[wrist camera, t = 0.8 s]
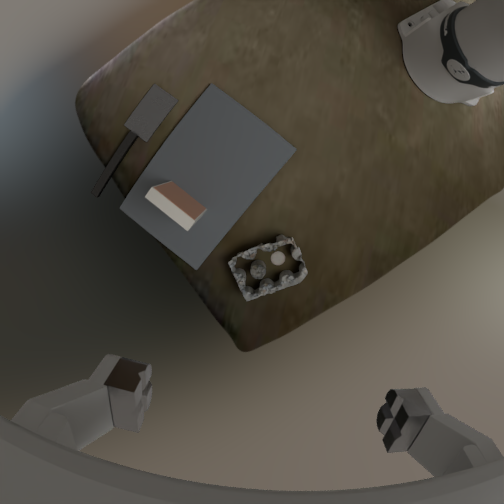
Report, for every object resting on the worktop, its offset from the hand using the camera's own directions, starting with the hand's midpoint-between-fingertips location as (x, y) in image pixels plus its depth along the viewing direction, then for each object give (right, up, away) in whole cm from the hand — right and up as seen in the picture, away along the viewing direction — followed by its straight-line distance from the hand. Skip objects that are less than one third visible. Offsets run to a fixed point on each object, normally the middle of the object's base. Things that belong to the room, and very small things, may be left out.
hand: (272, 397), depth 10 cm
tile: (-11, +13, +38) cm, 41 cm away
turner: (-20, +22, +36) cm, 46 cm away
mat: (-8, +16, +37) cm, 41 cm away
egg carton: (+2, +3, +41) cm, 41 cm away
